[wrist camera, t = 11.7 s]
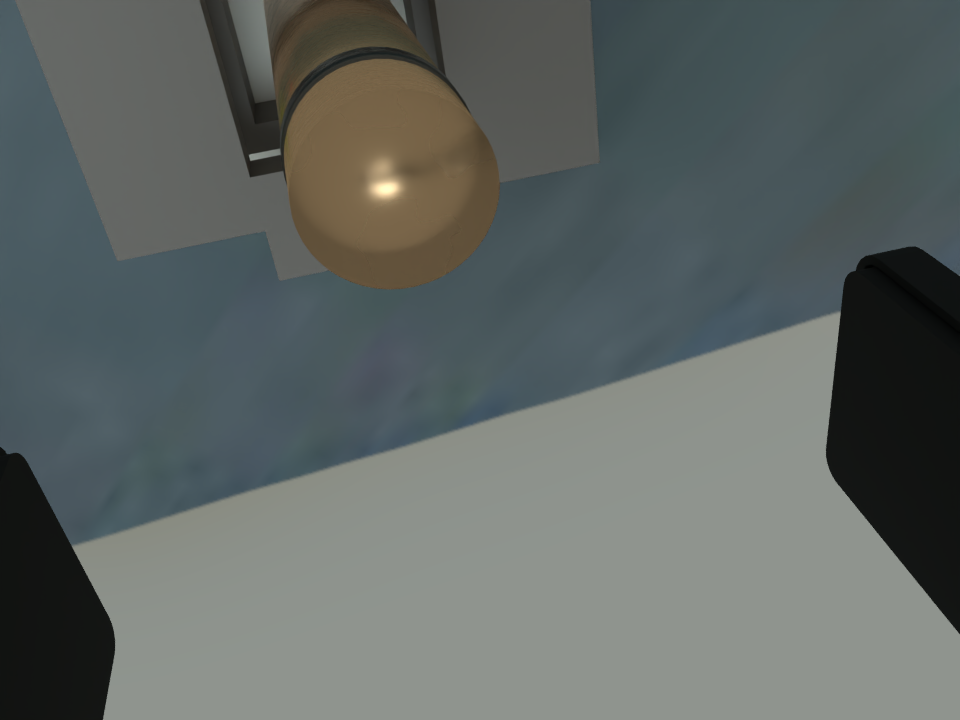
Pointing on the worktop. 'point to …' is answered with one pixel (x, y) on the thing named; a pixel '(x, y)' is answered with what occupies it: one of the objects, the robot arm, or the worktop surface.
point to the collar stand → (253, 110)
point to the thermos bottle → (376, 145)
